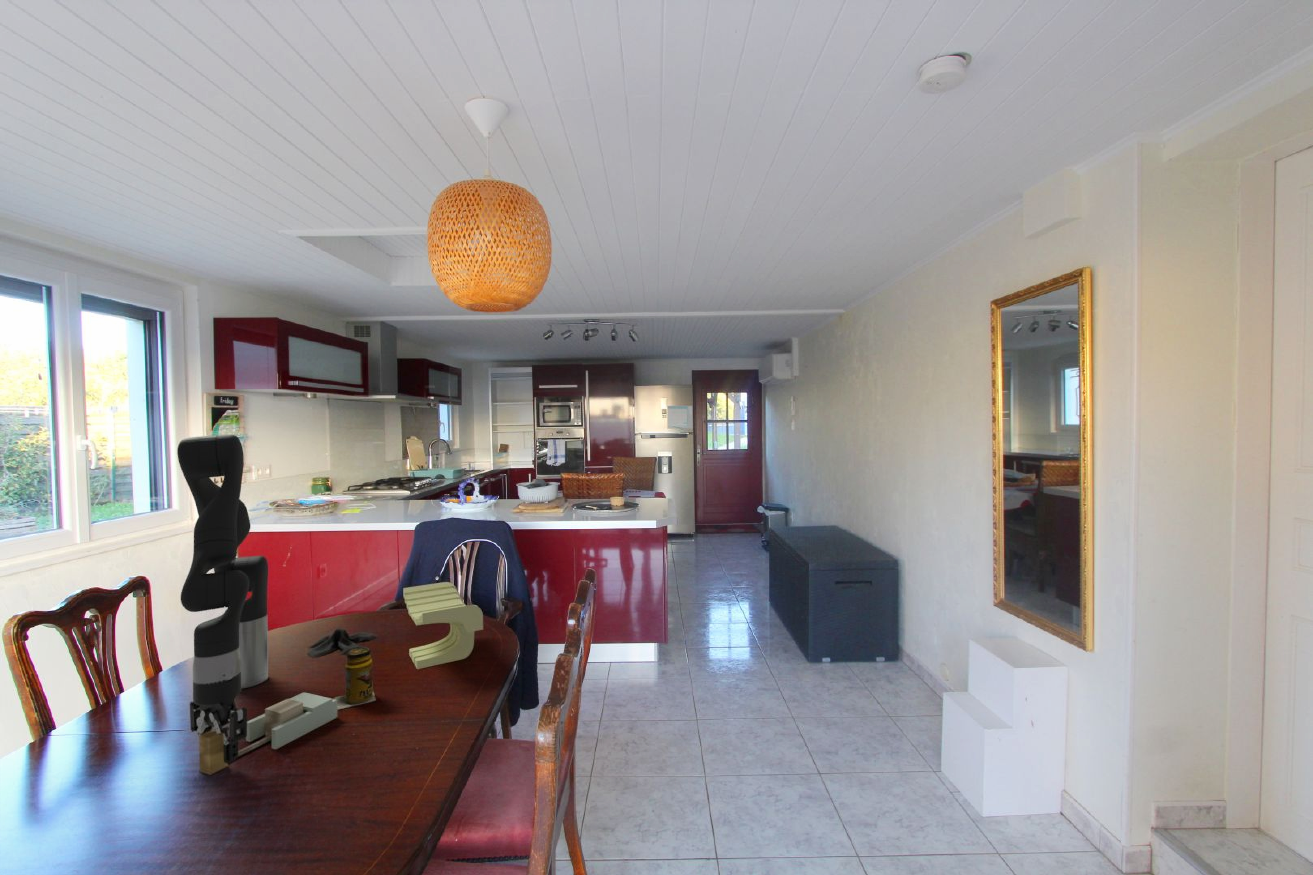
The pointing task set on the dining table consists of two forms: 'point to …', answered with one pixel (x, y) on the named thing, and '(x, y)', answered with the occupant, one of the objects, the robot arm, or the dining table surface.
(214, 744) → the tethered block
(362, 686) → the condiment
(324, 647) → the cloth
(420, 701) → the dining table surface
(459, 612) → the slatted curved stool
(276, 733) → the u-shaped sage bracket
